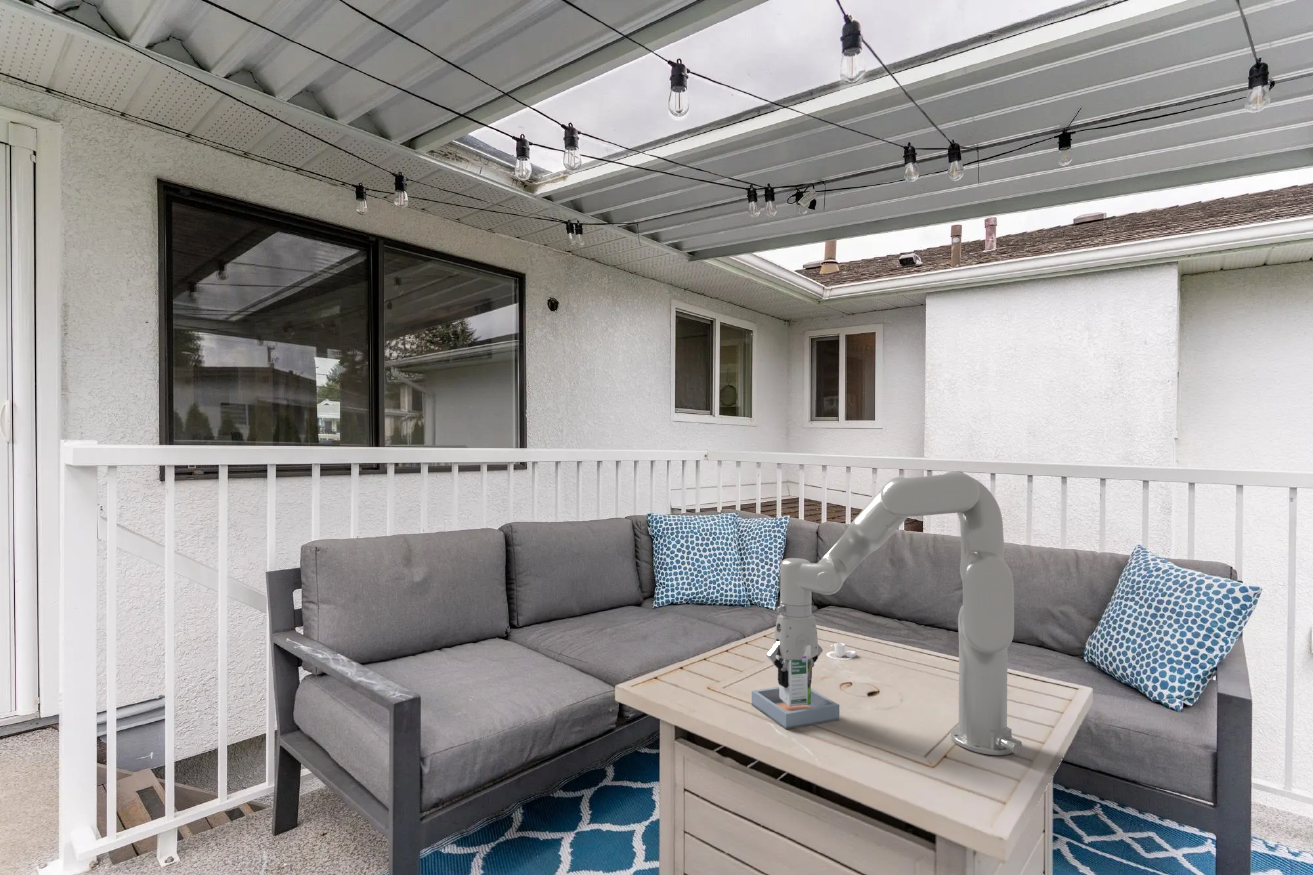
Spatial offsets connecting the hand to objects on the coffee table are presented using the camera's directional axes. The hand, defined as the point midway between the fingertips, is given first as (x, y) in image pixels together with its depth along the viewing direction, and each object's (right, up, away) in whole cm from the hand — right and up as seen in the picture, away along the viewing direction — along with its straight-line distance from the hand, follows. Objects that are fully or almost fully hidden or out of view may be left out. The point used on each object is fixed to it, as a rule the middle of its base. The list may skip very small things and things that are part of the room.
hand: (794, 683), depth 156 cm
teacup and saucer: (+25, -9, +41) cm, 48 cm away
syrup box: (0, -5, 0) cm, 5 cm away
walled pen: (0, -7, 0) cm, 7 cm away
